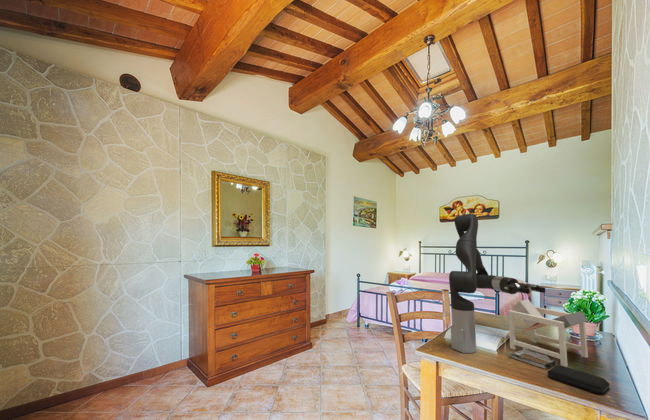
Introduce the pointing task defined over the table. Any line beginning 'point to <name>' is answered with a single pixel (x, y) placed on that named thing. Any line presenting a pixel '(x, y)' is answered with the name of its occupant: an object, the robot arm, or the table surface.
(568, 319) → the trapdoor
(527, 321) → the plain beige rectangular block
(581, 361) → the table surface
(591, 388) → the carrying case or bag
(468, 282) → the robot arm
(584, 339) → the trapdoor stand
